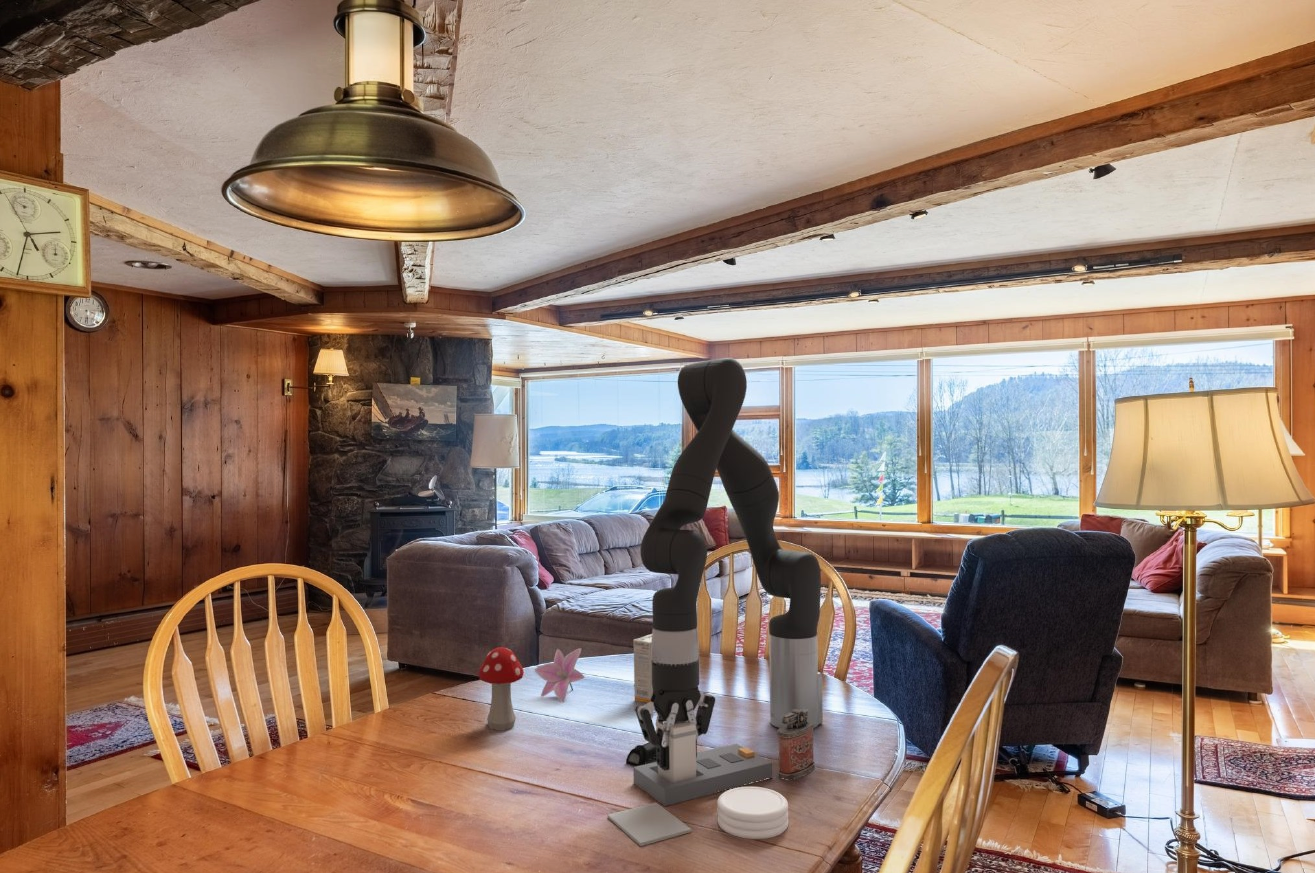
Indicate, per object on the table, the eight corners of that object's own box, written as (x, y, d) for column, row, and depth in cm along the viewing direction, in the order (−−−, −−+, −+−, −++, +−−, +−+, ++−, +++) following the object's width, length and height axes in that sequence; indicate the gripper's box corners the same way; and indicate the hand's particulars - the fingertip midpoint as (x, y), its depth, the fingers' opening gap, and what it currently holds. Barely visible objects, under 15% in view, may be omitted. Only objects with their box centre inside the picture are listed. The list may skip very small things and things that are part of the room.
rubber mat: (655, 805, 121) (655, 802, 121) (691, 831, 112) (691, 828, 112) (607, 817, 117) (607, 814, 117) (640, 846, 108) (640, 843, 108)
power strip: (736, 758, 139) (736, 739, 139) (772, 778, 130) (772, 758, 130) (633, 782, 129) (633, 762, 129) (665, 806, 120) (664, 784, 120)
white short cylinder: (702, 824, 115) (702, 799, 115) (747, 802, 122) (747, 779, 122) (758, 848, 108) (758, 822, 108) (802, 824, 115) (802, 799, 115)
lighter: (802, 762, 137) (801, 703, 137) (819, 767, 134) (818, 707, 135) (773, 776, 131) (772, 714, 131) (790, 782, 129) (789, 718, 129)
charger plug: (679, 777, 130) (679, 715, 131) (696, 788, 126) (695, 724, 126) (657, 783, 128) (656, 719, 129) (674, 794, 124) (673, 729, 124)
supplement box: (655, 691, 179) (655, 631, 180) (673, 694, 176) (673, 634, 177) (633, 700, 172) (632, 638, 173) (651, 704, 170) (650, 641, 170)
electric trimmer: (696, 745, 147) (696, 727, 147) (641, 770, 135) (640, 751, 135) (680, 740, 149) (680, 723, 150) (624, 765, 137) (624, 746, 138)
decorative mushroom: (530, 729, 155) (529, 650, 155) (485, 736, 151) (485, 655, 152) (515, 714, 164) (515, 640, 164) (473, 721, 160) (472, 645, 161)
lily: (533, 693, 182) (522, 661, 178) (578, 666, 187) (568, 635, 183) (557, 723, 173) (546, 690, 168) (603, 694, 178) (594, 661, 173)
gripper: (700, 645, 134) (701, 749, 134) (624, 657, 127) (625, 766, 127) (725, 654, 128) (727, 764, 128) (647, 667, 121) (648, 783, 121)
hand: (676, 764), depth 127 cm, fingers closed on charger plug, 4 cm apart
